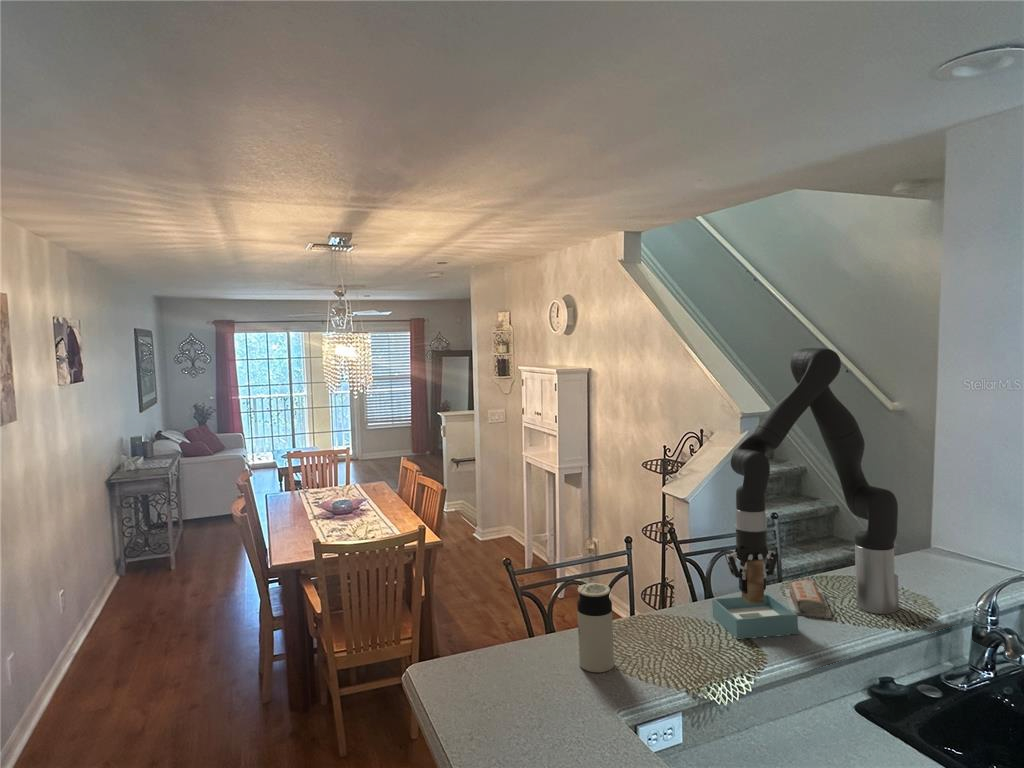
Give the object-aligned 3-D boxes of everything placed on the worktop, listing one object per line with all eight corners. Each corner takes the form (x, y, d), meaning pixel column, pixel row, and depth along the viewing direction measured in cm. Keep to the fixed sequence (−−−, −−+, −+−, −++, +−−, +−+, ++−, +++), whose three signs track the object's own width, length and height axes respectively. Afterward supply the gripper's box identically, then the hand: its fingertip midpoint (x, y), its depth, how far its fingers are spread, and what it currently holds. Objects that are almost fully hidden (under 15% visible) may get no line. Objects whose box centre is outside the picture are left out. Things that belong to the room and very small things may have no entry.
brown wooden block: (756, 596, 161) (755, 555, 161) (764, 602, 157) (763, 560, 157) (741, 597, 161) (740, 556, 161) (749, 603, 157) (748, 561, 157)
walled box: (769, 612, 167) (768, 594, 167) (798, 634, 153) (797, 614, 153) (712, 616, 166) (712, 598, 166) (737, 639, 152) (736, 620, 152)
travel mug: (619, 661, 144) (616, 585, 143) (606, 676, 137) (603, 597, 136) (587, 654, 148) (585, 580, 147) (573, 669, 141) (570, 591, 140)
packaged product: (832, 602, 162) (790, 599, 165) (832, 620, 162) (791, 616, 165) (821, 578, 179) (784, 576, 182) (821, 595, 179) (784, 592, 182)
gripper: (769, 521, 163) (770, 584, 164) (718, 524, 162) (719, 588, 162) (784, 528, 156) (786, 595, 156) (731, 532, 154) (733, 599, 155)
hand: (752, 591), depth 159 cm, fingers closed on brown wooden block, 4 cm apart
